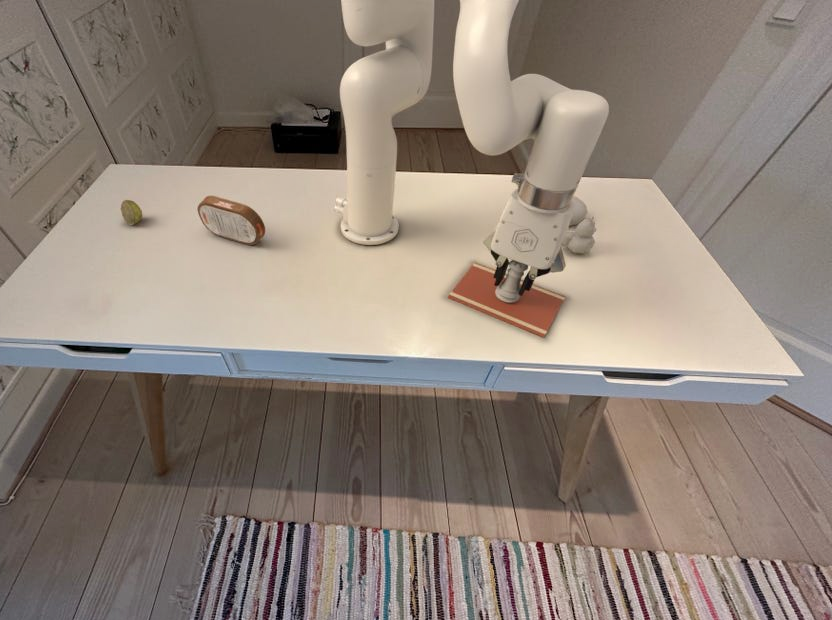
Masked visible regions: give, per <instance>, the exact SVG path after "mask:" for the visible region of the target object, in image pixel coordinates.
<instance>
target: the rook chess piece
mask: <svg viewBox="0 0 832 620" xmlns="http://www.w3.org/2000/svg"><path fill="white" fill-rule="evenodd" d="M508 267H509V268H507V273H506V274H507V276H506V278H505V280H504V281H502V283H500V284H499V286H498V287H497V289H496V291H495V293H496V296H497V298H498V299H499V300H501V301H502V302H505V303H513V302H516V301H517V300H519V298H520V295H519V294H518V293H519V291H520V288H521V287H520V281H521V280H522V277H524V276H525V271H527V270H528V269H529V265H526V264H523V263H520V262H518V261H515V260H512V259H510V260H509V265H508Z"/></svg>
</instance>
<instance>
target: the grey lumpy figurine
mask: <svg viewBox="0 0 832 620" xmlns="http://www.w3.org/2000/svg"><path fill="white" fill-rule="evenodd" d="M594 219H595V215H594V216H592V217H590V216H588V217H587V218H584V220H582V221H581V222H580V223H578V224H577V226H576V228H575V229H573V230H572V231H567V234H566V236H565V239H564V242H563V244H562V246H564V247H567V248H568V250H569V251H570V252H572V253H574V254H586V253H587V252H589V251H590V250H591V249H592V248H593V247H594V245H595V244H596V241H595V238H594V234H595V233H596V232H597V228H596V224H595V222H594Z"/></svg>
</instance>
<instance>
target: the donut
mask: <svg viewBox="0 0 832 620" xmlns="http://www.w3.org/2000/svg"><path fill="white" fill-rule="evenodd" d="M572 201H573V203H574V208H573V213H572V218H571V221H570V225H569V227H571V226H575V225H578V224H579V223H580V222H581V221H583V220H585V219H586V217H587V214H588V207H587V205H586V203H585V202H584V201H583V200H581V199H580V198H578V197H576V196H575V195H574V196H573V199H572Z"/></svg>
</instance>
